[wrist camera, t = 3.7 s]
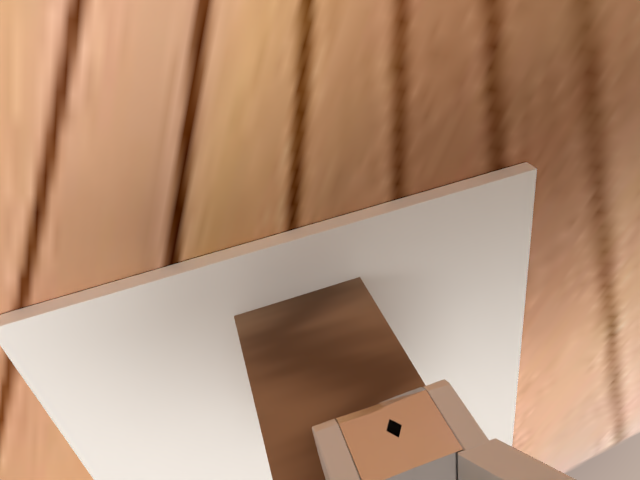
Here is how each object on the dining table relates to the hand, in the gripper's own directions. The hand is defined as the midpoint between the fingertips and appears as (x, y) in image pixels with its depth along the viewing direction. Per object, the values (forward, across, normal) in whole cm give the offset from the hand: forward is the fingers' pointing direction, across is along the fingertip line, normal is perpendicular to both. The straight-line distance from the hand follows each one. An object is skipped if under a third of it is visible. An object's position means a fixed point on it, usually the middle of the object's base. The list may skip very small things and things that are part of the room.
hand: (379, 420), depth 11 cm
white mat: (+13, 0, +15) cm, 19 cm away
